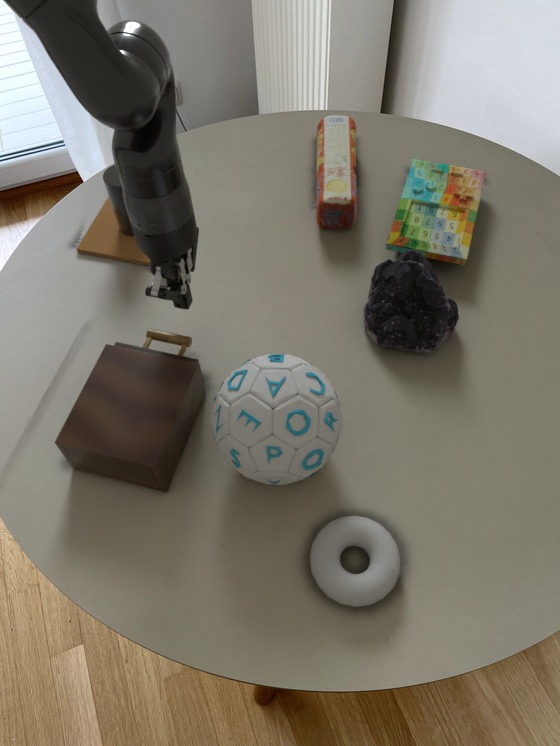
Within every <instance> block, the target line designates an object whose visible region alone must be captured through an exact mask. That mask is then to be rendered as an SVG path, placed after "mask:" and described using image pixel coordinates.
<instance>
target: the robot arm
mask: <svg viewBox="0 0 560 746" xmlns="http://www.w3.org/2000/svg"><path fill="white" fill-rule="evenodd" d="M2 1H3V2H4V3H5V4H6V5H7V6H8V7H9V8H10V10H11V11H12V12H13V13H15V14H16V16H17V17H18V18H19V19H21V20H22V22H23V23H24V24H25V25H26V26H27V27H28V28H29V29H30V30H31V31H33V33H34V34H35V36H36V37H37V38H38V40H39V42H40V44H41V45H42V47H43V49H44V51H45V52H46V54H47V56H48V58H49V59H50V61H51V62H52V64H53V65H54V66H55V68H56V69H57V71H58V73H59V74H60V76H61V78H62V80H63V81H64V83H65V84H66V85H67V87H68V88H69V90H70V92H71V94H73V96H74V97H75V99H76V100H77V101H78V103H79V104H80V105H81V106H82V108H83V109H84V110H85V111H86V112H87V113H88V114H89V115H90V116H91V117H92V118H94V119H95V120H96V121H98V122H99V123H101V124H102V125H104V126H106V127H107V128H110V129H113V134H112V137H111V154H112V158H113V161H114V165H115V166H116V169H117V173H118V176H119V179H120V183H121V186H122V192H123V199H124V204H125V207H126V210H127V214H128V217H129V220H130V223H131V227H132V230H133V233H134V237H135V240H136V243H137V246H138V247H139V249H140V250H141V251H142V252H143V253H144V254H145V255H146V256H147V257H148V258H149V259H150V266H149V270H150V273H151V275H152V276H153V280H152V283H150V285H147V286H146V287H145V290H144V295H145V296H146V297H150V298H155V299H160V300H164V301H172V303H173V307H174V308H176V309H180V310H184V311H185V310H187V311H188V310H189V309H190V308H191V306H192V303H193V301H194V300H193V295H192V290H191V286H190V285H191V283H192V275H191V273H194V272H195V270H196V262H197V253H198V252H197V251H198V243H199V233H200V229H199V227H198V226H197V221H196V216H195V211H194V205H193V200H192V195H191V189H190V186H189V182H188V180H187V178H186V177H187V176H186V174H185V170H184V166H183V165H184V164H183V160H182V156H181V149H180V145H179V142H178V138H177V93H176V77H175V69H174V64H173V59H172V56H171V54H170V51H169V49H168V46H167V45H166V43H165V41H164V40H163V39H162V37H161V36H160V35H159V33H158V32H157V31H156V30H155V29H153V28H152V27H151V26H149V25H148V24H146V23H145V22H142V21H140V20H135V19H123V20H121V21H118V22H115V23H114V24H113V25H112V26H110V27H109V28H108V29H107V28H106V27H105V25H104V23H103V22H102V20H101V18H100V16H99V11H98V3H99V0H2Z"/></svg>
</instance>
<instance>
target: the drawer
mask: <svg viewBox="0 0 560 746" xmlns="http://www.w3.org/2000/svg"><path fill="white" fill-rule="evenodd" d="M145 337H146V339H145V340H144V343H143V345H142V346H138V345H134V344H129V343H123V342H120V341H115V342H114V344H113V346H118V347H122V348H127V349H132V350H136V351H141V352H146V353H150V354H155V355H160V356H164V357H169V358H174V359H178V360H183V361H188V362H192V363H197V364H199V368H200V372H201V376H202V380H203V384H204V382H205V381H204V377H203V373H202V368H201V364H200V360H199V359H198V358H194V357H189V356H185V354H186V352H187V350H188V348H190V347H191V346H192V344H193V337H191V336H187V335H182V334H178V333H173V332H168V331H163V330H158V329H153V328H148V329H147V330H146V333H145ZM153 341H156V342H161V343H165V344H170V345H175V346H179V347H180V349H179V351H178V353H177V354H176V353H172V352H171V353H170V352H166V351H161V350H157V349H153V348H149V347H150V346H151V344H152V342H153Z"/></svg>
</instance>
